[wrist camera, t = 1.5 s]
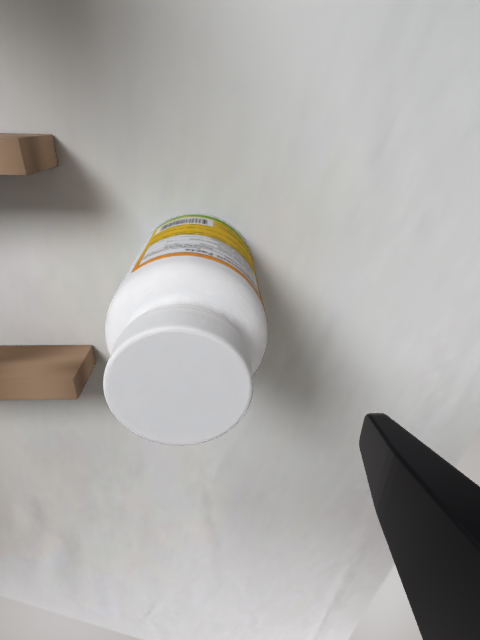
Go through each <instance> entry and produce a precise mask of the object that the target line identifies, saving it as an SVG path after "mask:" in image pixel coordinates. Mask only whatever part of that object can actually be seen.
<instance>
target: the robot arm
mask: <svg viewBox="0 0 480 640" xmlns="http://www.w3.org/2000/svg"><path fill="white" fill-rule="evenodd" d="M359 446H360V451H361V455H362V459H363V463H364V467H365V471H366V475H367V479H368V483H369V487H370V491H371V495H372V499H373V502H374V506H375V510H376V513H377V516H378V519H379V522H380V525H381V527H382V530H383V533H384V535H385V538H386V541H387V543H388V546H389V549H390V552H391V554H392V557H393V560H394V562H395V565H396V567H397V570H398V573H399V576H400V578H401V581H402V584H403V587H404V589H405V592H406V595H407V598H408V600H409V603H410V605H411V608H412V611H413V614H414V616H415V619H416V622H417V625H418V627H419V630H420V633H421V635H422V638H423V640H480V487H479V486H478V485H477V484H475V483H474V482H473V481H472V480H470V479H469V478H468V477H466V476H465V475H464V474H462V473H461V472H460V471H458V470H457V469H456V468H455V467H453V466H452V465H451V464H450V463H448V462H447V461H446V460H444V459H443V458H442V457H440V456H439V455H438V454H437V453H435V452H434V451H433V450H431V449H430V448H429V447H427V446H426V445H425V444H424V443H422V442H421V441H420V440H418V439H417V438H416V437H414V436H413V435H412V434H411V433H409V432H408V431H407V430H405V429H404V428H403V427H401V426H400V425H399V424H398V423H396V422H395V421H394V420H392V419H391V418H390V417H388V416H387V415H386V414H383V413H369V414H367V415H366V416H365V418H364V422H363V426H362V430H361V435H360V439H359Z"/></svg>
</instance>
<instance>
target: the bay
mask: <svg viewBox="0 0 480 640" xmlns="http://www.w3.org/2000/svg"><path fill="white" fill-rule="evenodd" d="M56 166H58V162H57V157H56V152H55V146H54V141H53V136H52V135H50V134H9V133H0V175H29V174H32V173H36V172H39V171H43V170H46V169H49V168H53V167H56ZM95 364H96V363H95V358H94V352H93V347H92V345H34V346H0V400H53V399H78V398H79V396H80V394H81V392H82V390H83V388H84V386H85V384H86V382H87V380H88V378H89V376H90V374H91V372H92V370H93V368H94V366H95Z"/></svg>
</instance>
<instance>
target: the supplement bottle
mask: <svg viewBox="0 0 480 640" xmlns="http://www.w3.org/2000/svg"><path fill="white" fill-rule="evenodd" d="M267 334H268V330H267V321H266V315H265V311H264V307H263V303H262V299H261V295H260V290H259V286H258V282H257V278H256V273H255V269H254V264H253V260H252V257H251V254H250V251H249V248H248V246H247V244H246V242H245V241H244V239H243V238H242V236H241V235H240V234H239V233H238V232H237V231H236V230H235V229H234V228H233V227H232V226H231V225H230V224H228V223H227V222H225V221H223V220H221V219H219V218H217V217H214V216H211V215H207V214H200V213H189V214H182V215H178V216H176V217H173V218H171V219H169V220H167V221H165V222H164V223H162V224H161V225H159V226H158V227H157V228H156V229H155V230H154V231H153V232H152V233H151V235H150V236H149V238H148V239H147V240H146V242H145V244H144V245H143V247H142V249H141V251H140V252H139V254H138V256H137V258H136V259H135V261H134V263H133V264H132V266H131V268H130V270H129V271H128V273H127V275H126V276H125V278H124V280H123V281H122V283H121V285H120V286H119V288H118V290H117V291H116V293H115V295H114V297H113V299H112V301H111V303H110V306H109V309H108V312H107V316H106V321H105V338H106V345H107V348H108V352H109V355H110V358H109V360H108V363H107V365H106V368H105V372H104V378H103V389H104V395H105V399H106V402H107V404H108V406H109V408H110V410H111V412H112V413H113V414H114V415H115V417H116V418H117V419H118V421H120V422H121V423H122V424H123V425H124V426H125V427H126V428H128V429H129V430H130V431H132V432H133V433H135V434H137V435H139V436H141V437H143V438H145V439H148V440H151V441H154V442H157V443H161V444H168V445H193V444H198V443H203V442H206V441H209V440H212V439H214V438H217V437H219V436H221V435H223V434H224V433H226V432H227V431H229V430H230V429H231V428H233V427H234V426H235V425H236V424H237V423H238V422H239V421H240V420H241V418H242V417H243V416H244V414H245V413H246V411H247V409H248V407H249V404H250V402H251V398H252V393H253V377H252V375H253V374H254V373H255V371H256V370H257V368H258V367H259V365H260V363H261V361H262V359H263V356H264V353H265V350H266V345H267Z"/></svg>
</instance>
